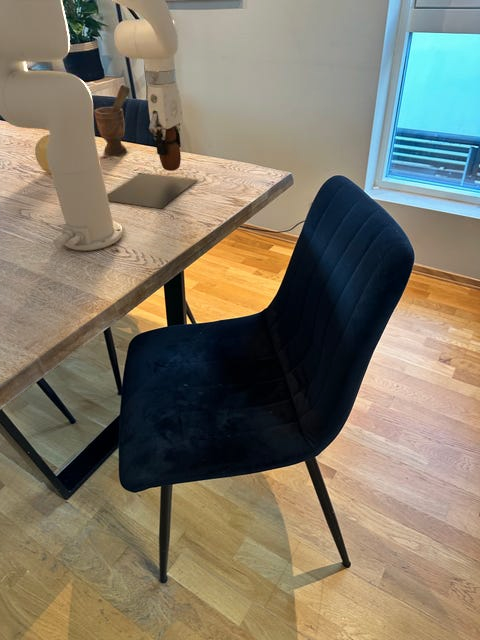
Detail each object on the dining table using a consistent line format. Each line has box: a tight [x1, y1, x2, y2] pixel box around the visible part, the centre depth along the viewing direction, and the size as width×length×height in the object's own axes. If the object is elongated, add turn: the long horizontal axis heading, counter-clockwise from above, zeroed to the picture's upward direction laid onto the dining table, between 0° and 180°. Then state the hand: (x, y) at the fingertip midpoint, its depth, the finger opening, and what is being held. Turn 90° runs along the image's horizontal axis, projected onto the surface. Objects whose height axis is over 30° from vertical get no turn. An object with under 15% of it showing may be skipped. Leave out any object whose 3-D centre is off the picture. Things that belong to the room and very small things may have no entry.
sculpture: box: [34, 133, 51, 175], centre depth 124 cm, size 11×12×11 cm
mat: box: [107, 173, 197, 210], centre depth 114 cm, size 20×18×1 cm
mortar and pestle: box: [93, 84, 130, 157], centre depth 135 cm, size 12×9×20 cm
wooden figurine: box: [158, 127, 182, 172], centre depth 118 cm, size 7×6×15 cm
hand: (169, 150), depth 119 cm, fingers closed on wooden figurine, 6 cm apart
